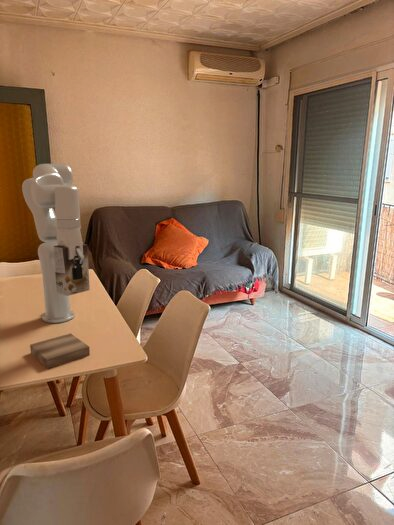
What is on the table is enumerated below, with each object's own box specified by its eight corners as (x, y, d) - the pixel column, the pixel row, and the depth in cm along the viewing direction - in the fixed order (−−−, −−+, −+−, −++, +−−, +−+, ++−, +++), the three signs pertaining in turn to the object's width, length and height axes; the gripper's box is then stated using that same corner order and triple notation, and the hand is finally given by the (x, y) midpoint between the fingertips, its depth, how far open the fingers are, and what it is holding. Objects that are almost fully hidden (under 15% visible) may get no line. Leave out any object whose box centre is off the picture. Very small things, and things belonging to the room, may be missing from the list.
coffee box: (67, 296, 129) (64, 248, 125) (56, 293, 133) (52, 246, 129) (90, 290, 136) (87, 244, 132) (79, 287, 140) (75, 242, 136)
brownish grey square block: (30, 353, 131) (30, 344, 130) (71, 341, 140) (70, 333, 139) (47, 368, 121) (46, 359, 120) (89, 355, 130) (89, 346, 129)
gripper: (46, 223, 133) (50, 274, 137) (70, 227, 121) (74, 284, 124) (67, 221, 138) (70, 270, 142) (92, 225, 126) (95, 279, 130)
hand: (72, 276), depth 133 cm, fingers closed on coffee box, 6 cm apart
